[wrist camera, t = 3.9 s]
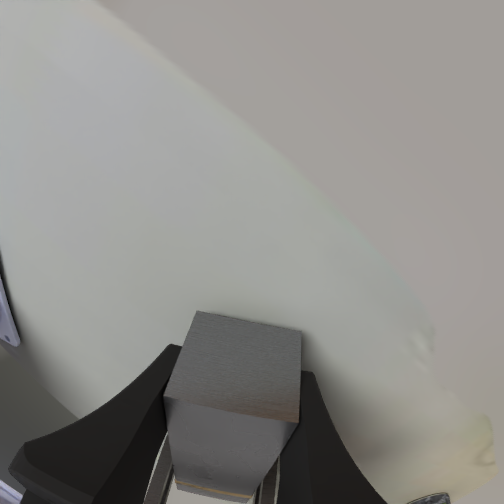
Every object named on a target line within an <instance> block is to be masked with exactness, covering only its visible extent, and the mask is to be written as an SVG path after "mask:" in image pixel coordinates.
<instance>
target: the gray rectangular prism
mask: <svg viewBox="0 0 504 504" xmlns="http://www.w3.org/2000/svg"><path fill="white" fill-rule="evenodd" d="M300 376H301V331H296V330H290V329H284V328H279V327H274V326H268V325H263V324H258V323H253V322H248V321H243V320H238V319H233V318H229V317H224V316H219V315H215V314H210V313H206V312H201V311H196V314H195V316H194V319H193V321H192V324H191V326H190V329H189V331H188V334H187V336H186V339H185V341H184V344H183V346H182V349H181V351H180V354H179V357H178V359H177V362H176V364H175V367H174V369H173V372H172V374H171V377H170V380H169V382H168V385H167V387H166V390H165V393H164V395H163V397H164V406H165V414H166V422H167V429H168V436H169V443H170V450H171V456H172V462H173V468H174V474H175V483H176V485H177V489H178V490H182V491H186V492H190V493H194V494H199V495H203V496H208V497H213V498H218V499H223V500H228V501H234V502H240V503H247V502H248V500H249V499H250V498H251V497H252V496H253V493H254V492H255V490H256V489H257V487H258V486H259V485H260V483H261V482H262V480H263V479H264V477H265V476H266V474H267V473H268V471H269V470H270V468H271V467H272V465H273V464H274V462H275V461H276V459H277V457H278V456H279V454H280V453H281V451H282V450H283V448H284V446H285V445H286V443H287V441H288V440H289V438H290V437H291V435H292V433H293V432H294V430H295V428H296V427H297V425H298V423H299V404H300Z"/></svg>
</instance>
